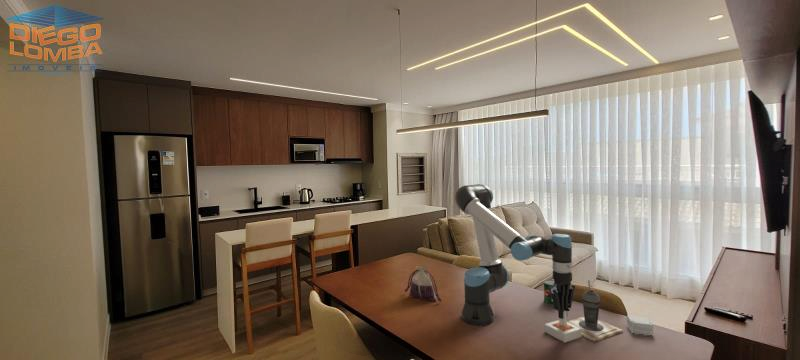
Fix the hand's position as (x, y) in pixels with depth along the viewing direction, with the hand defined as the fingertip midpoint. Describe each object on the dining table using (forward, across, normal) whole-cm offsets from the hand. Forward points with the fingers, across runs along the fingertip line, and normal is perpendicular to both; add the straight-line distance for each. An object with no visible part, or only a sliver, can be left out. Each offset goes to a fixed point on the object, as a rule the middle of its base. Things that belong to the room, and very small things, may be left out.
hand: (563, 325), depth 142 cm
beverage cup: (+3, +15, -2) cm, 15 cm away
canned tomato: (+4, +23, +26) cm, 35 cm away
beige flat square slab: (+4, +15, -2) cm, 16 cm away
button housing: (+4, 0, 0) cm, 4 cm away
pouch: (+4, -35, +63) cm, 72 cm away
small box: (+5, +32, -12) cm, 34 cm away
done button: (+2, 0, 0) cm, 2 cm away
